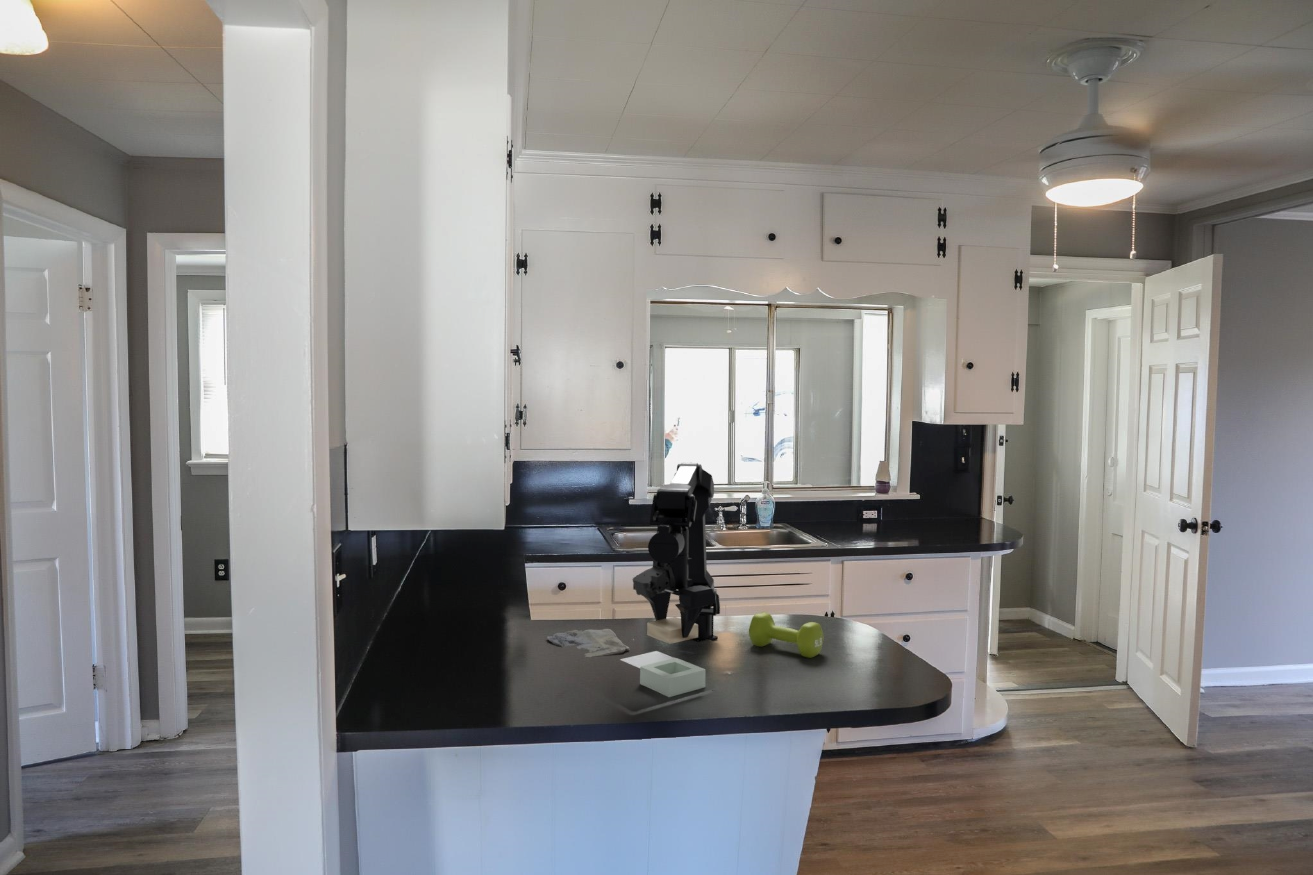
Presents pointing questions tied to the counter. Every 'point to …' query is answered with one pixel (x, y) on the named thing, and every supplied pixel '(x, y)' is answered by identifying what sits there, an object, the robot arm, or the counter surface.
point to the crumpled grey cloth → (591, 641)
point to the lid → (669, 630)
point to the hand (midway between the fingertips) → (672, 633)
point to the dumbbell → (786, 634)
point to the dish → (672, 677)
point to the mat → (646, 659)
